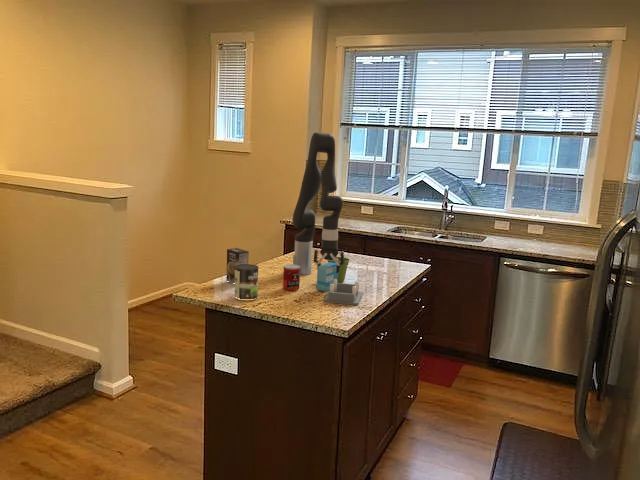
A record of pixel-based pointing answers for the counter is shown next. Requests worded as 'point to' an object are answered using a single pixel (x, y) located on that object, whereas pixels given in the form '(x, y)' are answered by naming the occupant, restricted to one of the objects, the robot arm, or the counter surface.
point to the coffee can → (246, 281)
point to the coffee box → (235, 261)
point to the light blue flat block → (326, 276)
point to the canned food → (291, 277)
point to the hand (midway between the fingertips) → (328, 272)
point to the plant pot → (341, 268)
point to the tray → (344, 293)
